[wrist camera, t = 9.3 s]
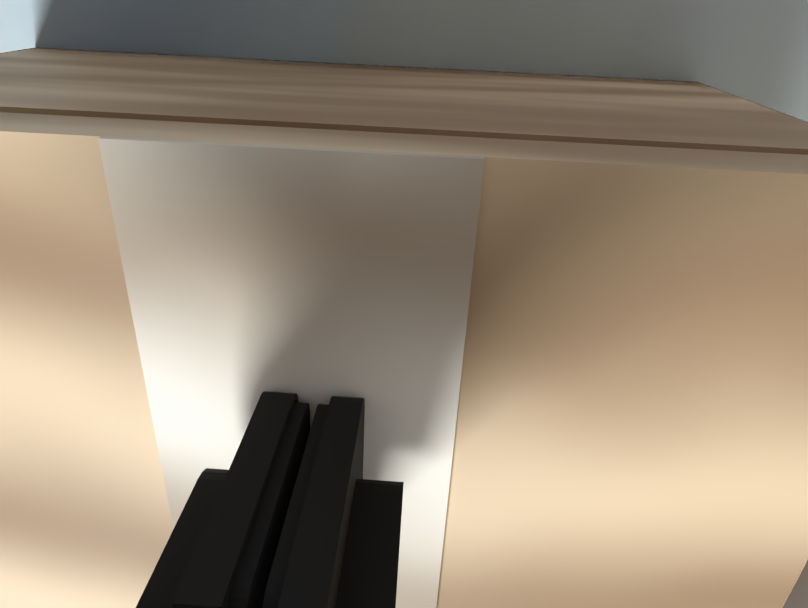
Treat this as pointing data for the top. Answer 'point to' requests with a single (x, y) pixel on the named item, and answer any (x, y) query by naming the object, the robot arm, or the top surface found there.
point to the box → (392, 100)
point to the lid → (410, 352)
